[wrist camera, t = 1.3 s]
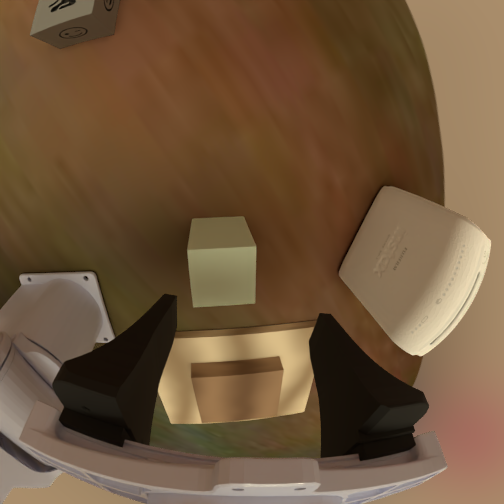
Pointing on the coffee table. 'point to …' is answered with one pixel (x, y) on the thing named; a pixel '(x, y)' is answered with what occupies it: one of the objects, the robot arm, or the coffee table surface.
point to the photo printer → (415, 268)
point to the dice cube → (74, 21)
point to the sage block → (221, 262)
